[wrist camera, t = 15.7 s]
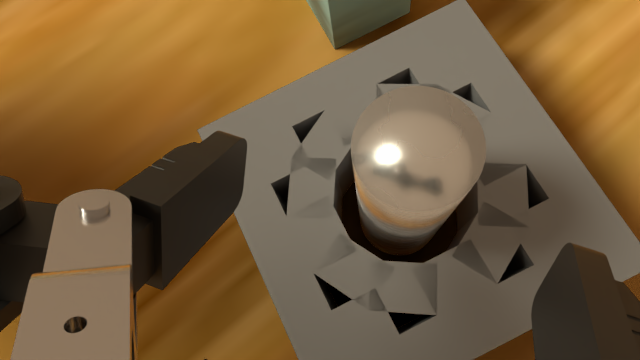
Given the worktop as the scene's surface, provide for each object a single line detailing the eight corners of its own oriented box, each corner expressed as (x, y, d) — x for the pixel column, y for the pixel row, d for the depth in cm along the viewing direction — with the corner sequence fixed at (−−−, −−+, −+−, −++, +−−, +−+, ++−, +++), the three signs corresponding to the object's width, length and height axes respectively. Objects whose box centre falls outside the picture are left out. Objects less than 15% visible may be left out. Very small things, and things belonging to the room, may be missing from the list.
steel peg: (347, 201, 25) (328, 121, 14) (413, 168, 25) (442, 64, 15) (382, 268, 24) (390, 235, 13) (451, 233, 24) (513, 172, 13)
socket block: (229, 162, 26) (197, 129, 22) (447, 53, 27) (463, -3, 22) (340, 407, 22) (331, 433, 17) (596, 274, 23) (655, 264, 18)
